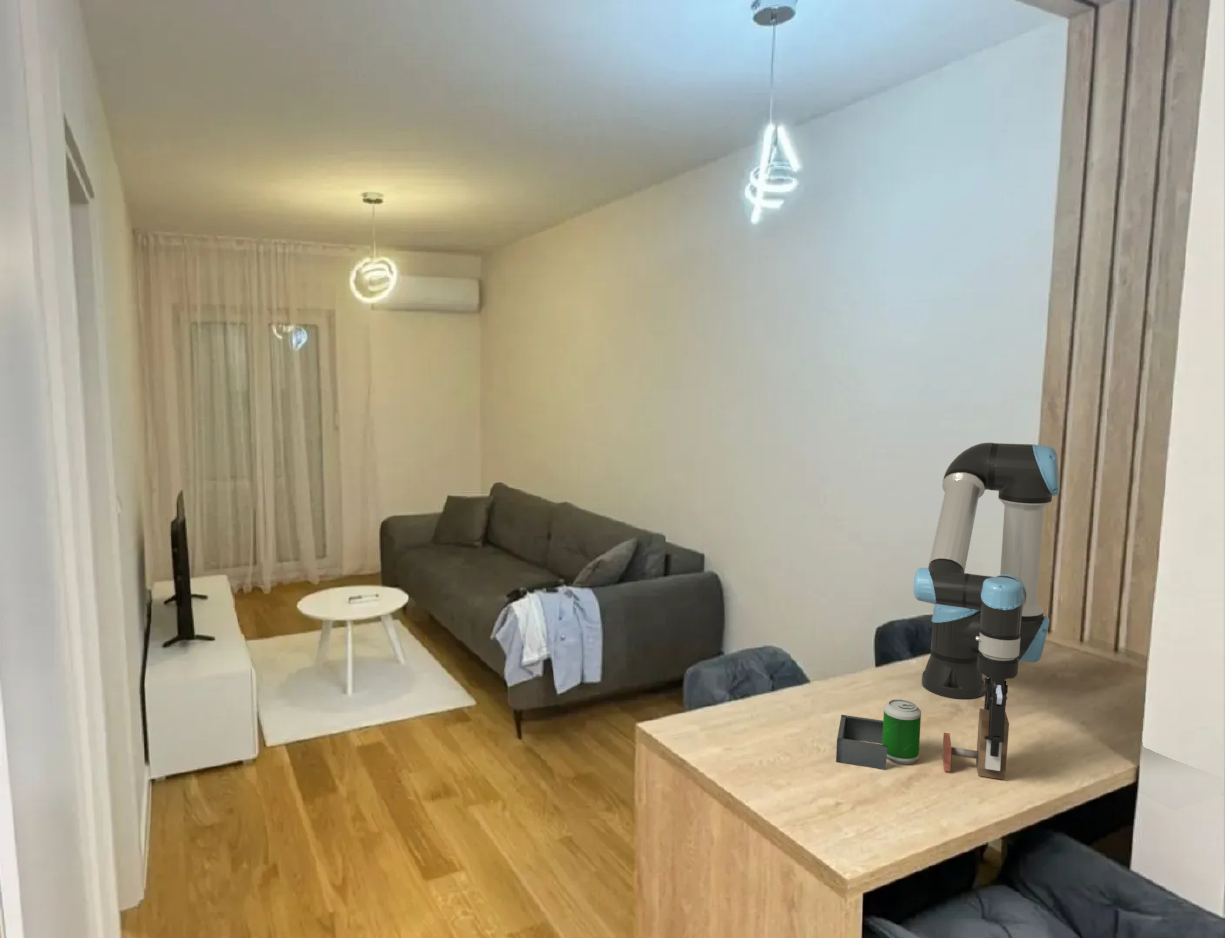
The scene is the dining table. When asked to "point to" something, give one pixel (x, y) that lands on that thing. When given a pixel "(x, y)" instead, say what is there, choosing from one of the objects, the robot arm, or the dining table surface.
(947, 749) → the striker
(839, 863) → the dining table surface
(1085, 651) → the dining table surface
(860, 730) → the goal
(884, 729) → the soda can
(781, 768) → the dining table surface
